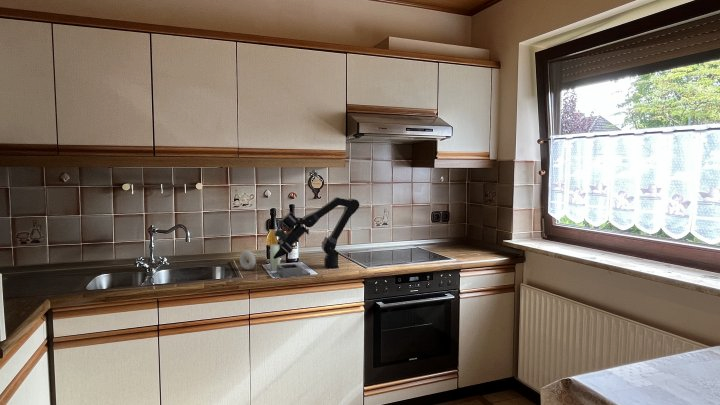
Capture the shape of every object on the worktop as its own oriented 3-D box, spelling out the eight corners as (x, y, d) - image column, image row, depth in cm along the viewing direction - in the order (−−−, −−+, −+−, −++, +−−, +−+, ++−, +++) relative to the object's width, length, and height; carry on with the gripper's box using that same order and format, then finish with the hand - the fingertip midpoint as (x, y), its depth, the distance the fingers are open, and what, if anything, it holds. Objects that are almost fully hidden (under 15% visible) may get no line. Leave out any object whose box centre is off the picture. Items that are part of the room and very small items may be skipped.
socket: (303, 270, 231) (303, 262, 231) (310, 275, 221) (310, 267, 221) (276, 272, 225) (276, 264, 225) (282, 277, 215) (282, 269, 215)
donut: (238, 269, 231) (238, 250, 230) (243, 268, 234) (243, 249, 233) (252, 271, 226) (252, 252, 225) (257, 270, 228) (257, 251, 228)
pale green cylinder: (278, 268, 234) (278, 243, 233) (281, 270, 230) (281, 245, 228) (269, 269, 232) (269, 244, 231) (271, 271, 227) (271, 245, 226)
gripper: (282, 221, 239) (260, 242, 237) (285, 226, 221) (262, 249, 219) (296, 235, 242) (275, 256, 240) (301, 241, 224) (279, 264, 222)
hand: (273, 256), depth 230 cm, fingers open, 9 cm apart
